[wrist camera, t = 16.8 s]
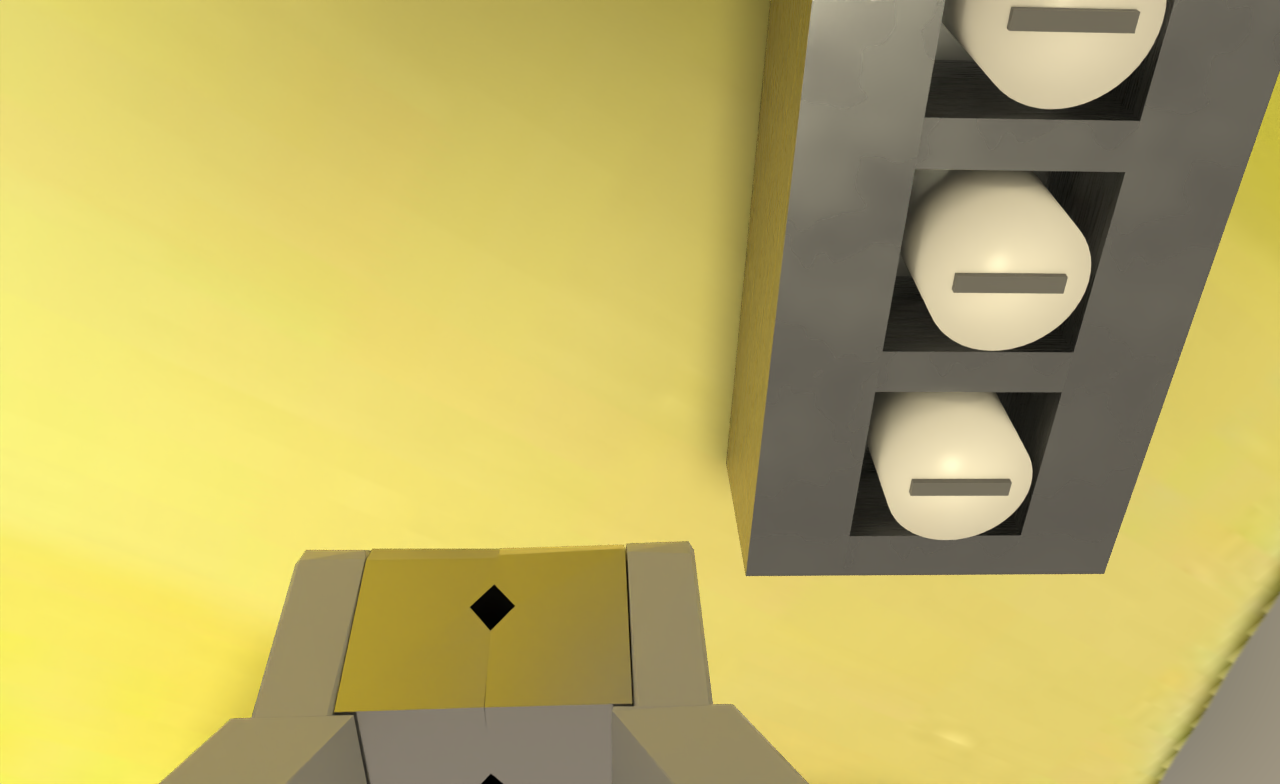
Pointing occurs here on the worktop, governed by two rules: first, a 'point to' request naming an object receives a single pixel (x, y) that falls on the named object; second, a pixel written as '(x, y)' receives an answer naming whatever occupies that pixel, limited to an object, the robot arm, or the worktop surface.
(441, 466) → the worktop surface
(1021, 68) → the knob
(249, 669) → the worktop surface
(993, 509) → the knob
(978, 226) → the middle knob
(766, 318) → the console
